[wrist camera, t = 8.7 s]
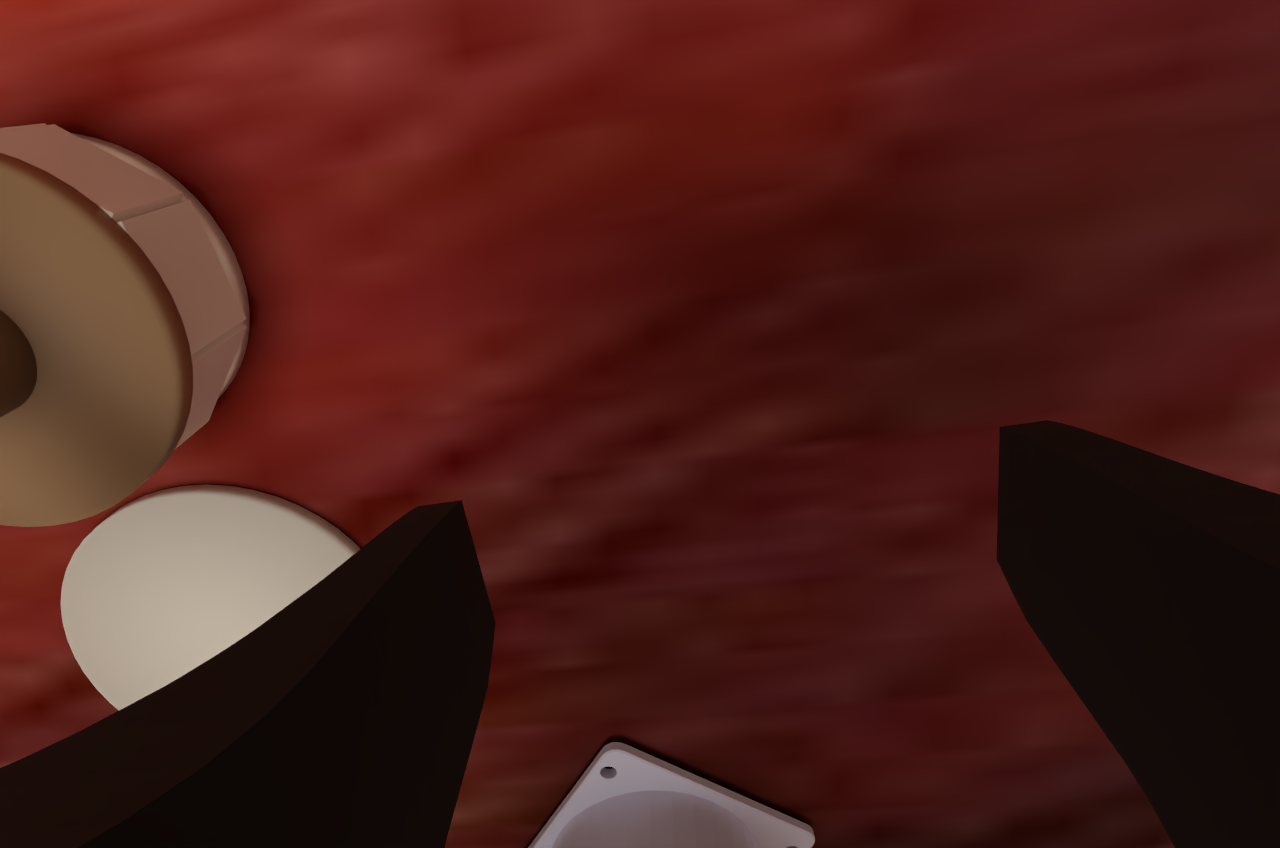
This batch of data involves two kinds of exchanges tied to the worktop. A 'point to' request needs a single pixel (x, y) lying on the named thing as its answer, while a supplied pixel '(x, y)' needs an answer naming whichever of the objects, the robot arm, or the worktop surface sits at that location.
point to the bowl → (158, 245)
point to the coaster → (187, 581)
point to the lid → (80, 355)
